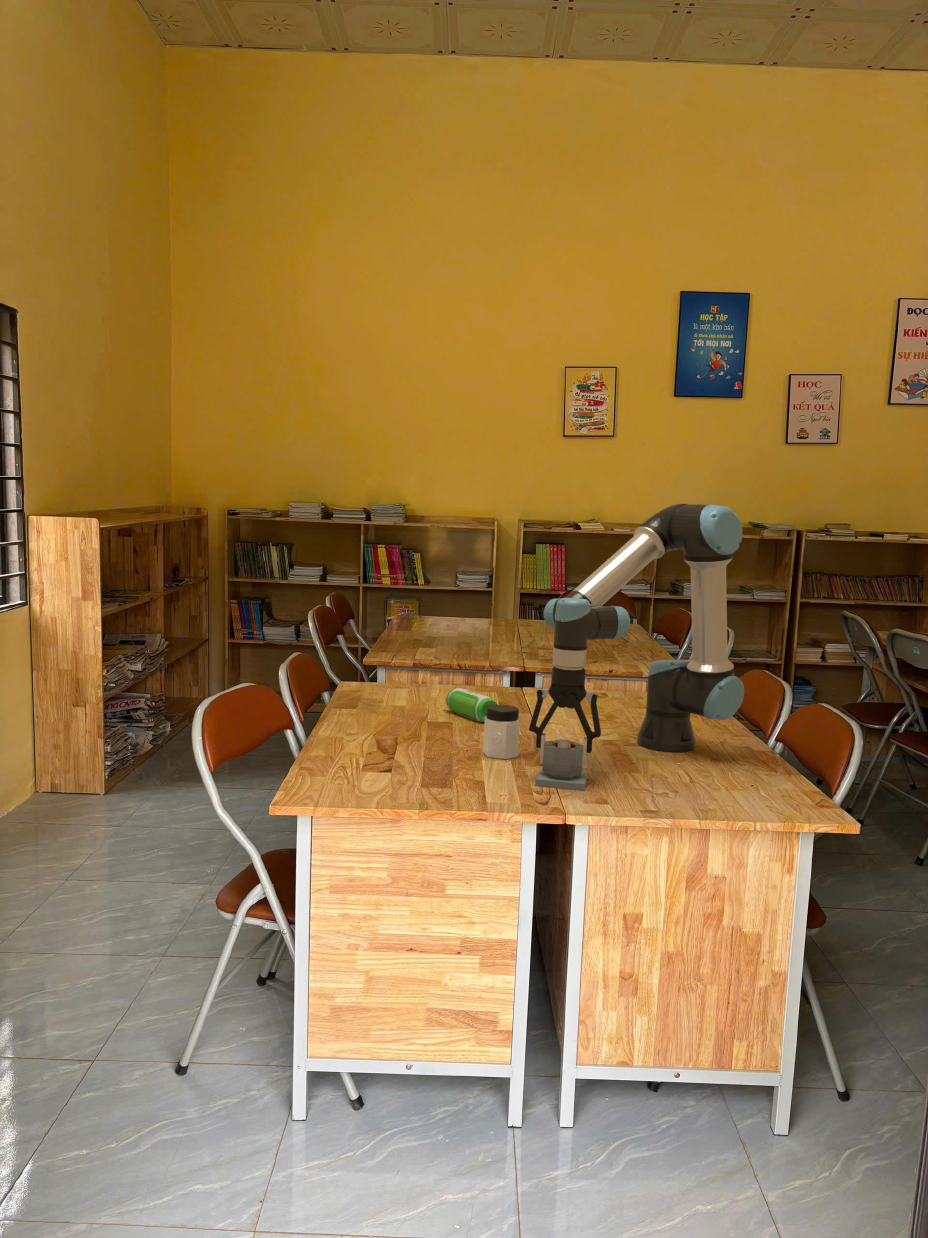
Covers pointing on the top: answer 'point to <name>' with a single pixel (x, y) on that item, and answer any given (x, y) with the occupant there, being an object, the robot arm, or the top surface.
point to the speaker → (469, 704)
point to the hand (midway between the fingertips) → (562, 764)
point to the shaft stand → (562, 781)
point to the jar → (501, 732)
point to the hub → (562, 759)
